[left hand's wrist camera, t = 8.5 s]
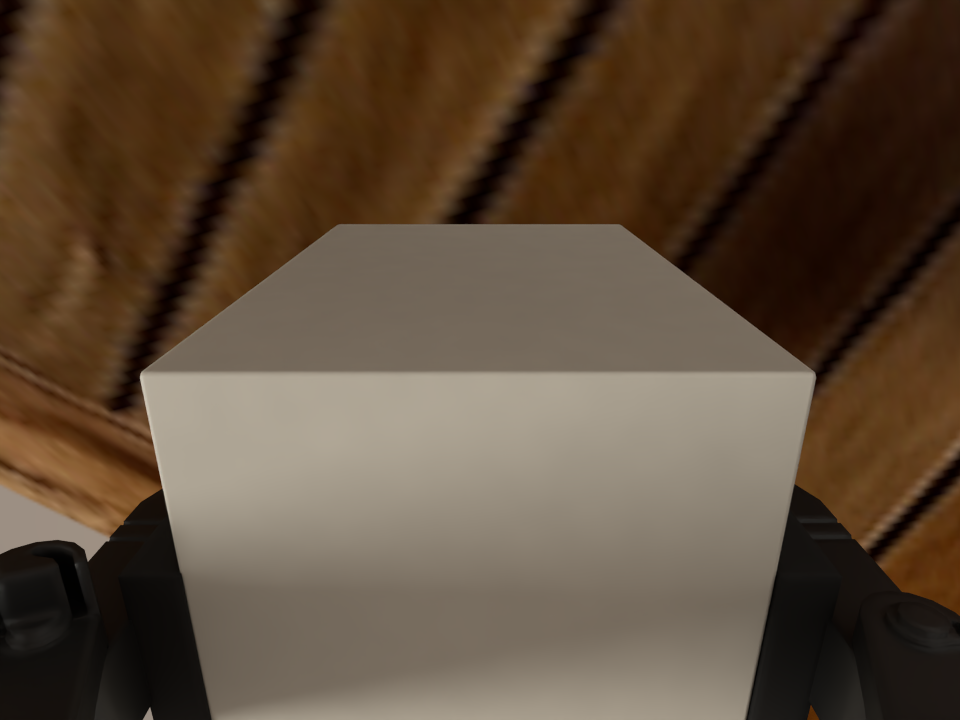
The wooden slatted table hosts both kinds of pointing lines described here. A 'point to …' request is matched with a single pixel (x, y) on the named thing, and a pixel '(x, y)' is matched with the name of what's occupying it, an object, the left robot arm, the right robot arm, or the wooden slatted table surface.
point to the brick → (478, 481)
